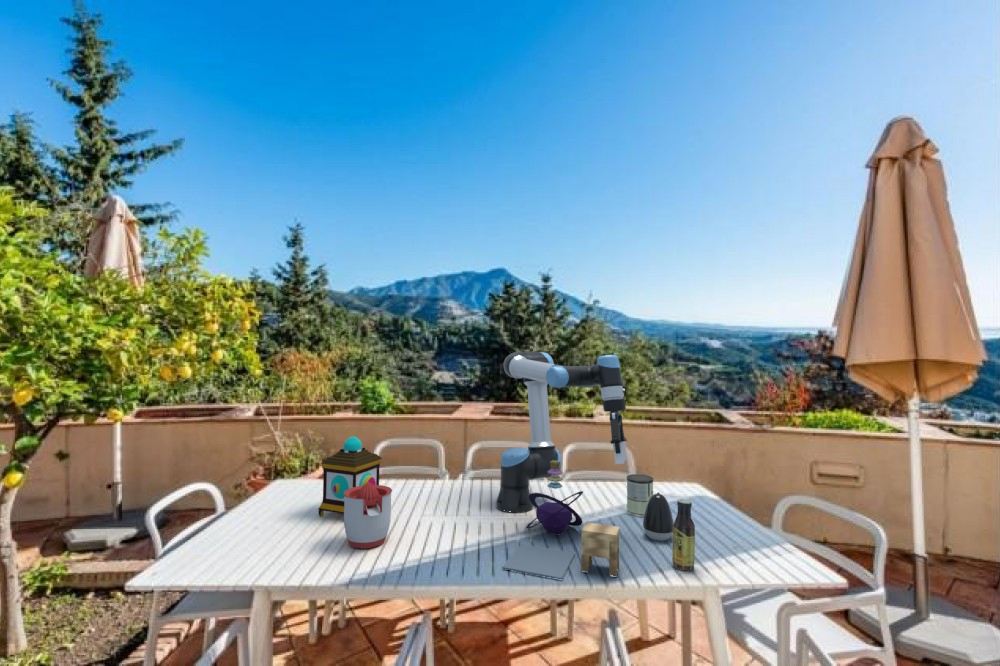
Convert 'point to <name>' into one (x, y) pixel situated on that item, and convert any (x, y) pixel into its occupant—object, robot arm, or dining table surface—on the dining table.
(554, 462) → the ringed planet sculpture
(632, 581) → the dining table surface
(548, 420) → the robot arm
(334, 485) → the decorative lantern
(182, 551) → the dining table surface
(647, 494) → the coffee can
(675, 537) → the sauce bottle
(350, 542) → the citrus juicer
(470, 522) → the dining table surface
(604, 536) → the notched wooden block
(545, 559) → the slate mat
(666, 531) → the black egg shape
